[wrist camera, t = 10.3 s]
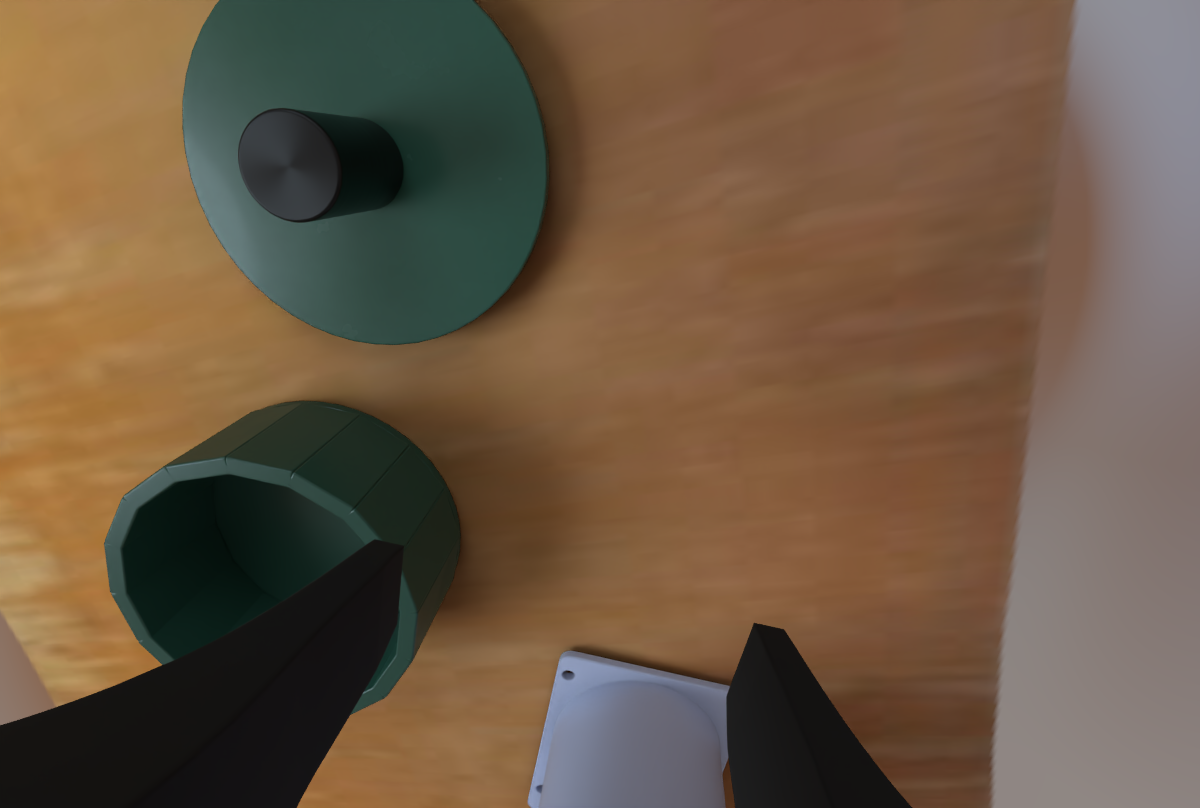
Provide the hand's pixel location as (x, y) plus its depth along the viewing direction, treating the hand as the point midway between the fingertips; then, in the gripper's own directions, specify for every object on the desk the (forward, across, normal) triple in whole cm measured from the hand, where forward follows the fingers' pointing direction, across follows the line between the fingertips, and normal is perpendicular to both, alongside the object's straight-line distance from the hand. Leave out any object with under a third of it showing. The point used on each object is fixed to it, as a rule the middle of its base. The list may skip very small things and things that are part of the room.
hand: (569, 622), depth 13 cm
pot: (+10, +10, +7) cm, 16 cm away
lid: (+10, +9, -7) cm, 15 cm away
